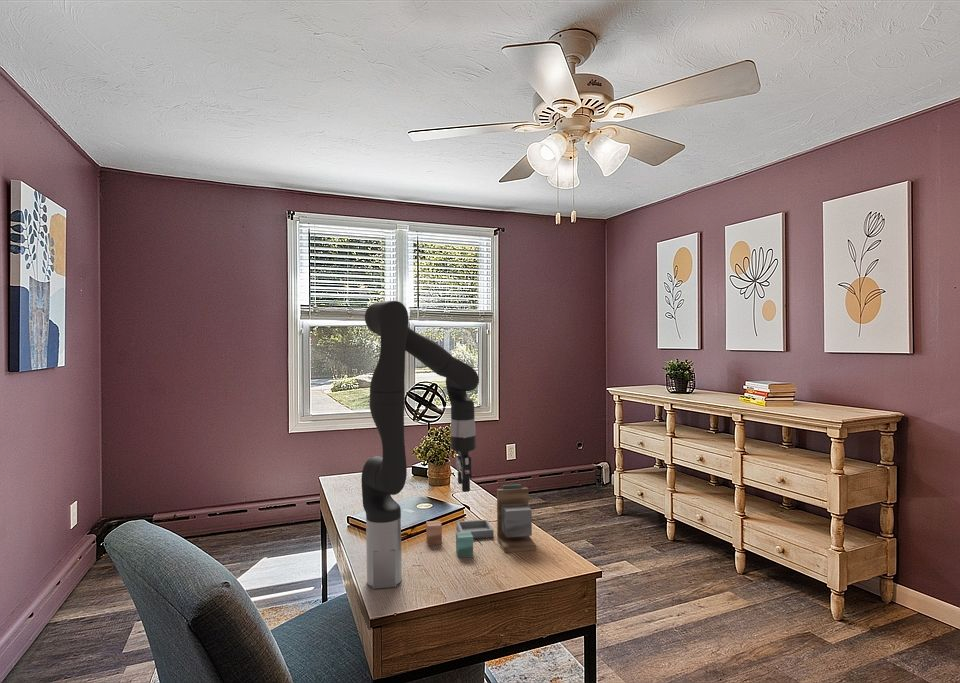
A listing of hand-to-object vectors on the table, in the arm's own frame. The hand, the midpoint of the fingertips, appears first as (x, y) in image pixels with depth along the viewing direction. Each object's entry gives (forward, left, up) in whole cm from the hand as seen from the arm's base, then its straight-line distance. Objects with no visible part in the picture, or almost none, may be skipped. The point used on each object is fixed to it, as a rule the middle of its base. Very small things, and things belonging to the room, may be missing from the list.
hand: (463, 487), depth 171 cm
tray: (+17, -6, -20) cm, 27 cm away
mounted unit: (+4, -17, -20) cm, 27 cm away
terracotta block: (+12, +8, -20) cm, 25 cm away
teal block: (0, 0, -20) cm, 20 cm away
